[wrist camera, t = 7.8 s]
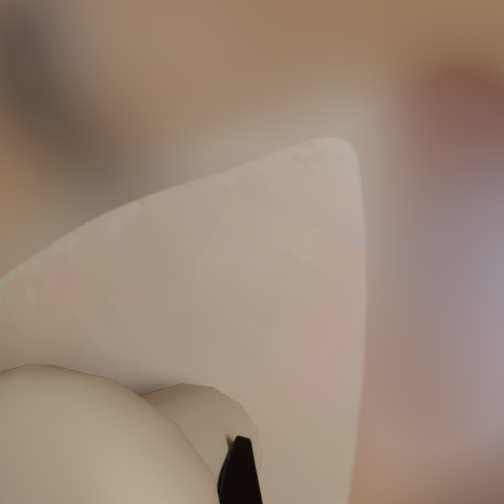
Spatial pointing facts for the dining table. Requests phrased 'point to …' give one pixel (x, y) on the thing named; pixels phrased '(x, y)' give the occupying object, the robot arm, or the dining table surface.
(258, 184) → the dining table surface
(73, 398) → the salt shaker
